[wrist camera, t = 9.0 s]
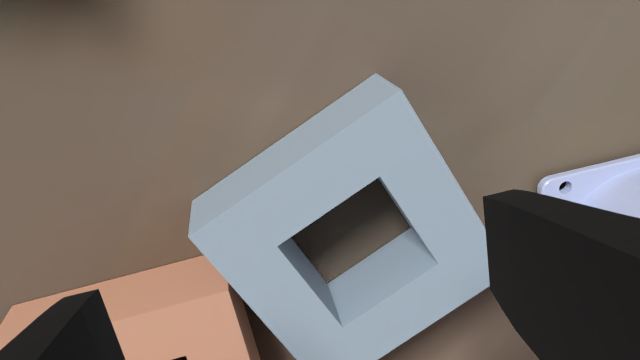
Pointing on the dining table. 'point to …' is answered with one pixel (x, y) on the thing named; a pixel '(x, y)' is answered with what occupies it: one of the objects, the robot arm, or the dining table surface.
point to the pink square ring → (163, 314)
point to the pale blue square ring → (323, 195)
